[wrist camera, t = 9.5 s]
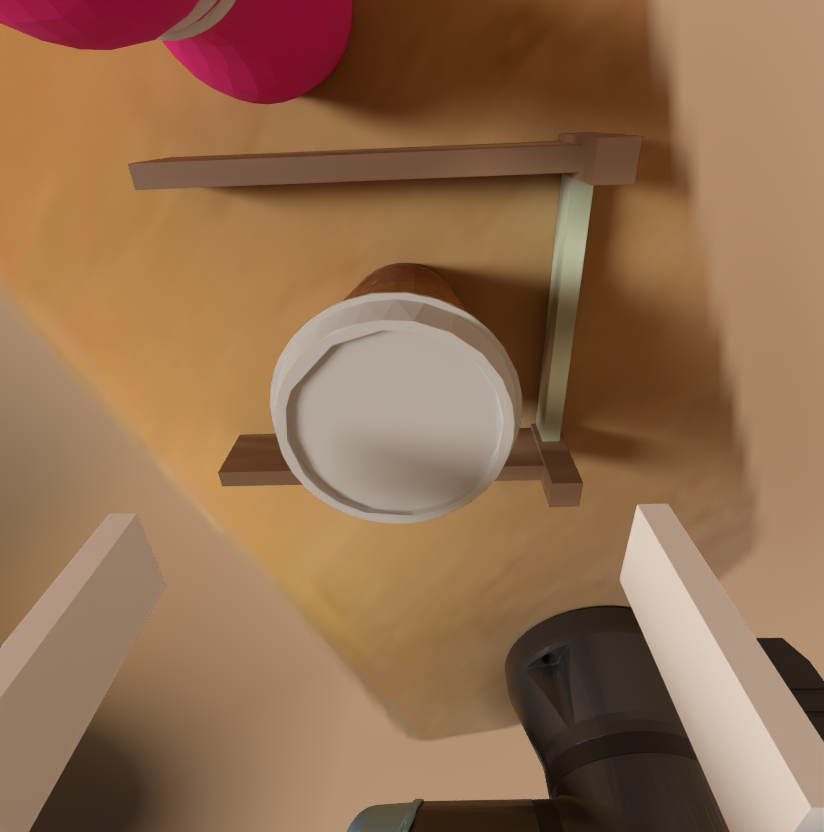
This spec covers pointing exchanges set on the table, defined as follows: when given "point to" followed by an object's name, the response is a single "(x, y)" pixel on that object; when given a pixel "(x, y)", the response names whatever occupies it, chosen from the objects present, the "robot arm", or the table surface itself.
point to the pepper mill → (206, 37)
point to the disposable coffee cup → (396, 400)
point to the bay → (571, 156)
